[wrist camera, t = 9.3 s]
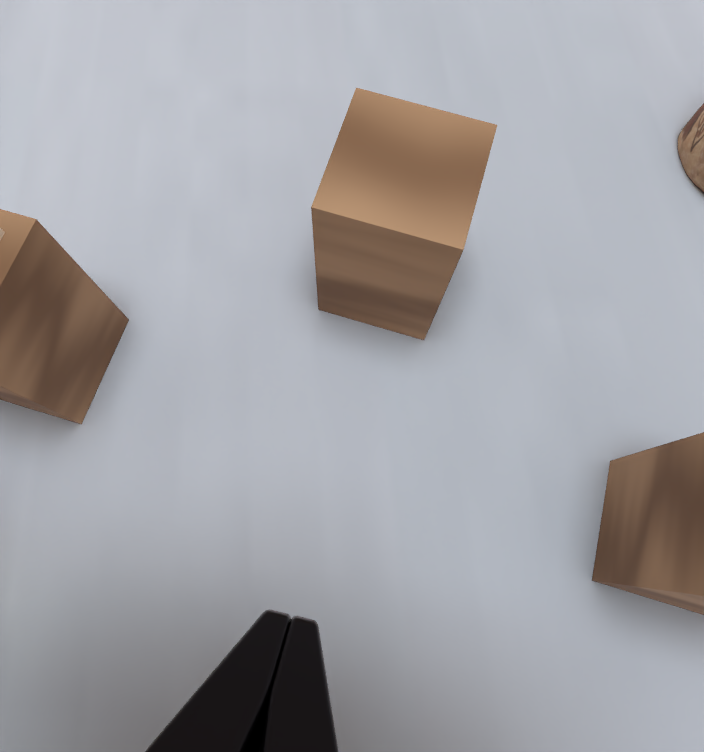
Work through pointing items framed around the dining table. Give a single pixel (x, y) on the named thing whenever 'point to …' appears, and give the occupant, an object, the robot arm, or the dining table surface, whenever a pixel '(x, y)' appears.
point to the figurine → (693, 148)
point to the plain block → (396, 210)
